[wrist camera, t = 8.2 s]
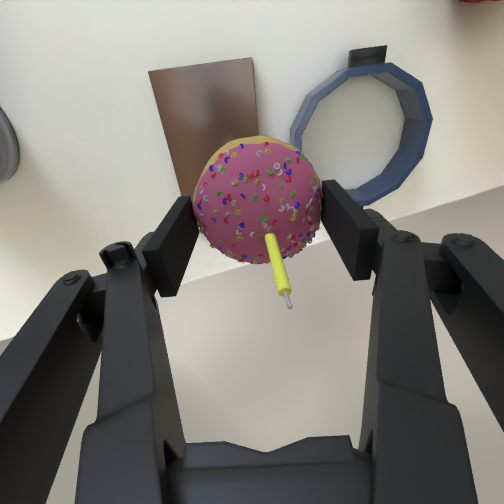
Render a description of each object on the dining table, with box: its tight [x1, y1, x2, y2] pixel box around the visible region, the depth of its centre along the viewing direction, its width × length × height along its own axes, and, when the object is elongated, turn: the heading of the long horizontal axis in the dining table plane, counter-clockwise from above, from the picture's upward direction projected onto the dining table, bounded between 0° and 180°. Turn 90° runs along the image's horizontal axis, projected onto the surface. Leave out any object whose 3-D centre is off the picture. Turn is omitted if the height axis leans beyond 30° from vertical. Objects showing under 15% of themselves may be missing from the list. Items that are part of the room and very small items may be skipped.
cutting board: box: [148, 57, 259, 205], centre depth 34 cm, size 12×20×2 cm, turn 6°
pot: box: [290, 45, 433, 209], centre depth 31 cm, size 16×19×4 cm
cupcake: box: [193, 135, 323, 309], centre depth 15 cm, size 9×8×12 cm
